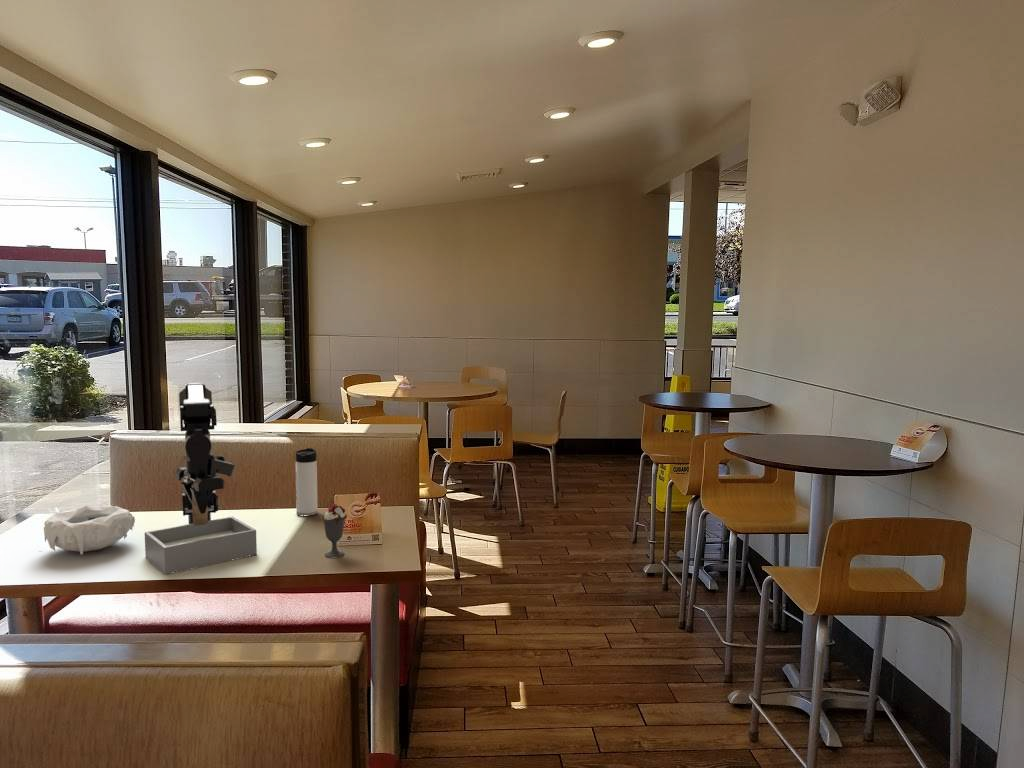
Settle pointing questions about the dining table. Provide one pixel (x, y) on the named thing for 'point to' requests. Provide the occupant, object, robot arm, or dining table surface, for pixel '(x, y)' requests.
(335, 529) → the sundae
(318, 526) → the dining table surface
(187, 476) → the robot arm
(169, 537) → the box
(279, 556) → the dining table surface
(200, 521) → the peg
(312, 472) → the travel mug
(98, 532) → the bowl
